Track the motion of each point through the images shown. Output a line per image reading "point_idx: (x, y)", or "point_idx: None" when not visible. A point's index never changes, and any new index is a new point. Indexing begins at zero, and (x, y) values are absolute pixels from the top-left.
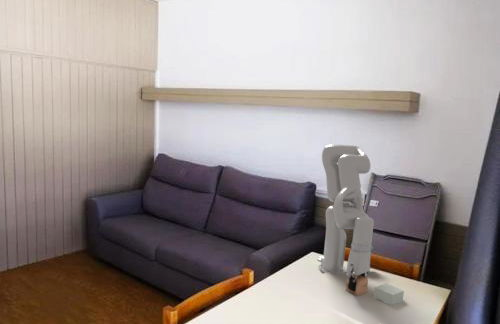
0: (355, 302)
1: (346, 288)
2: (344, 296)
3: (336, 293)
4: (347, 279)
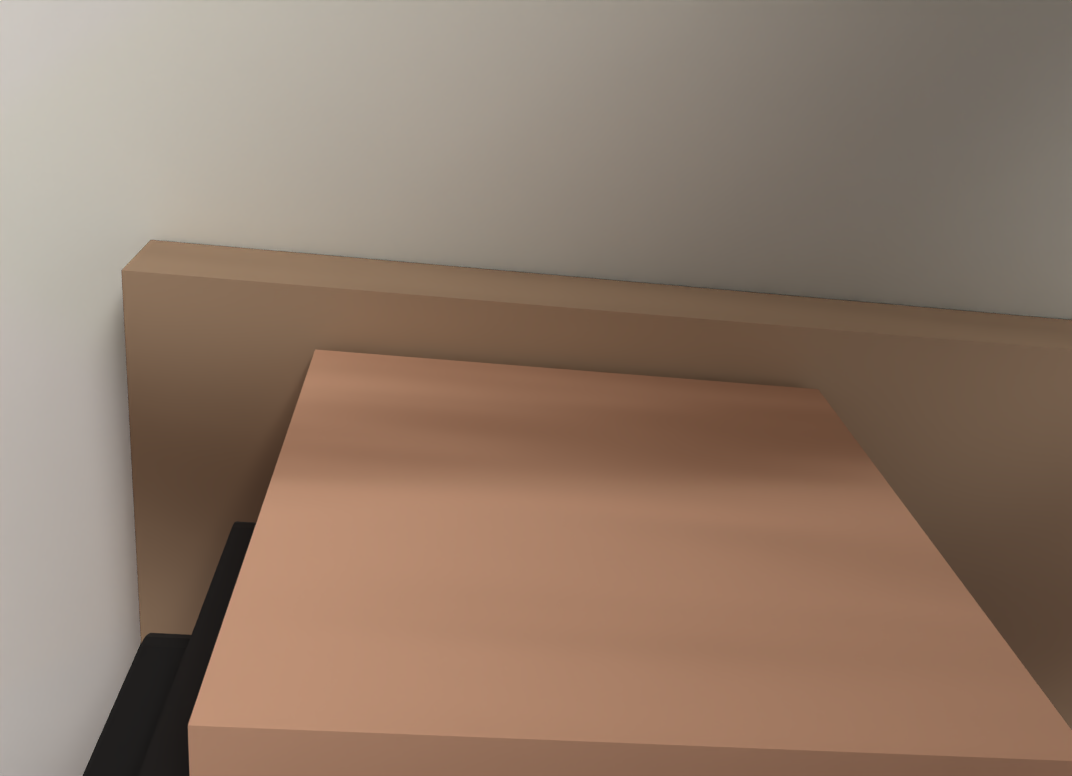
0: (74, 751)
1: (302, 394)
2: (87, 415)
3: (10, 135)
4: (231, 616)
